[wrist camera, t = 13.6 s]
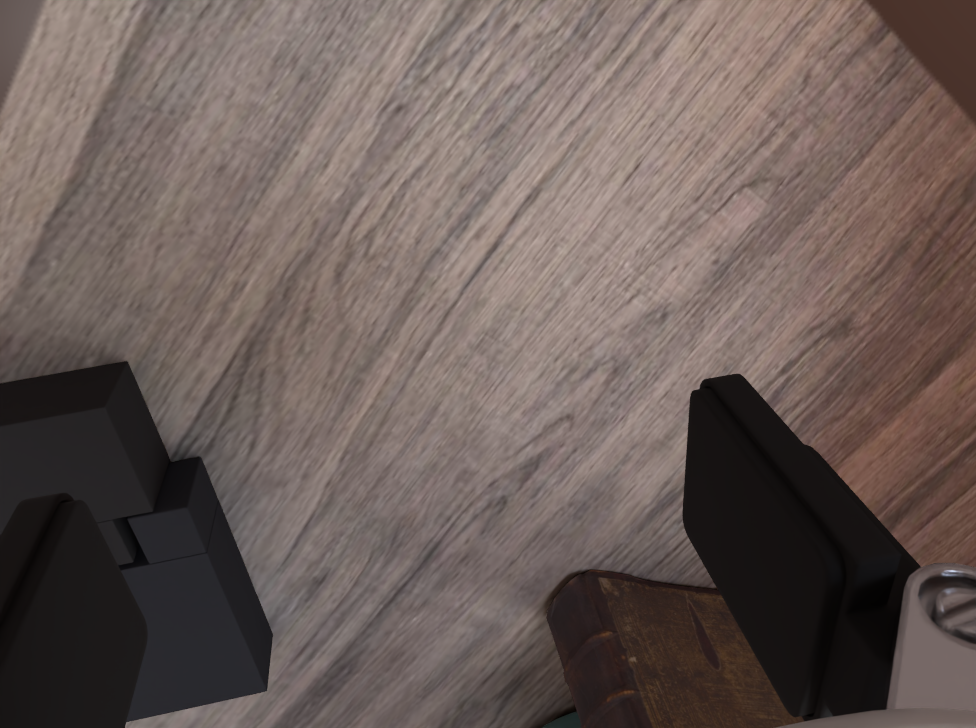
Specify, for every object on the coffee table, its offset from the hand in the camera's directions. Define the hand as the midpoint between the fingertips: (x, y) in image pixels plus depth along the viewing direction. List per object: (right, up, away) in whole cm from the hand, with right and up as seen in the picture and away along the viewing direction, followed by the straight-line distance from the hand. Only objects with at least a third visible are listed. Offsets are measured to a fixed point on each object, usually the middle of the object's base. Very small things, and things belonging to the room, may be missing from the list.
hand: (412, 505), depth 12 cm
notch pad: (-18, -9, +30) cm, 36 cm away
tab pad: (-19, -2, +25) cm, 32 cm away
